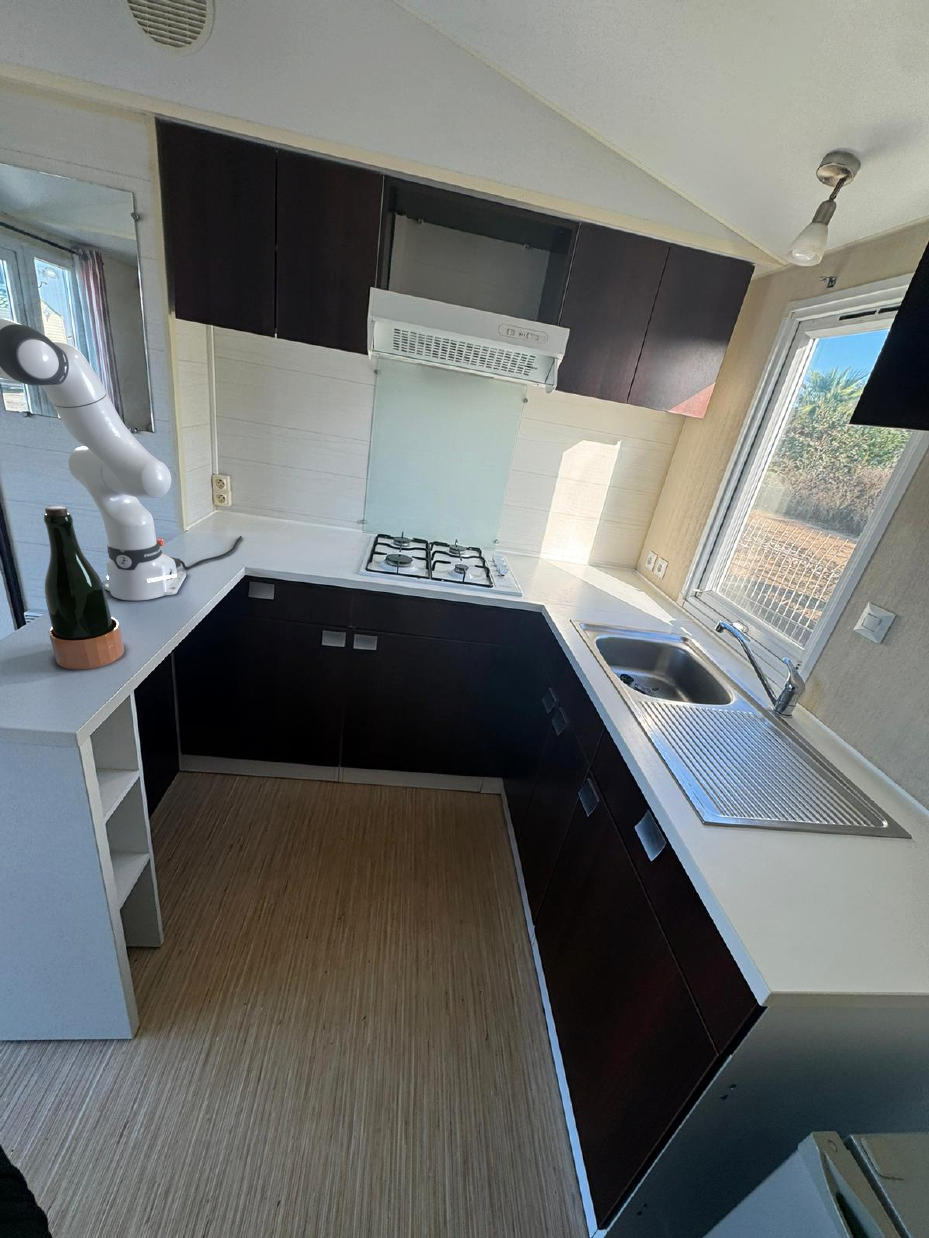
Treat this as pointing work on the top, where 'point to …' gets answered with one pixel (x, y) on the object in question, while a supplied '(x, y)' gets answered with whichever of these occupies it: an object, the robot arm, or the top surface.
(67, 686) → the top surface
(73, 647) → the copper bottle coaster
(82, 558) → the green wine bottle
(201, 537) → the top surface
